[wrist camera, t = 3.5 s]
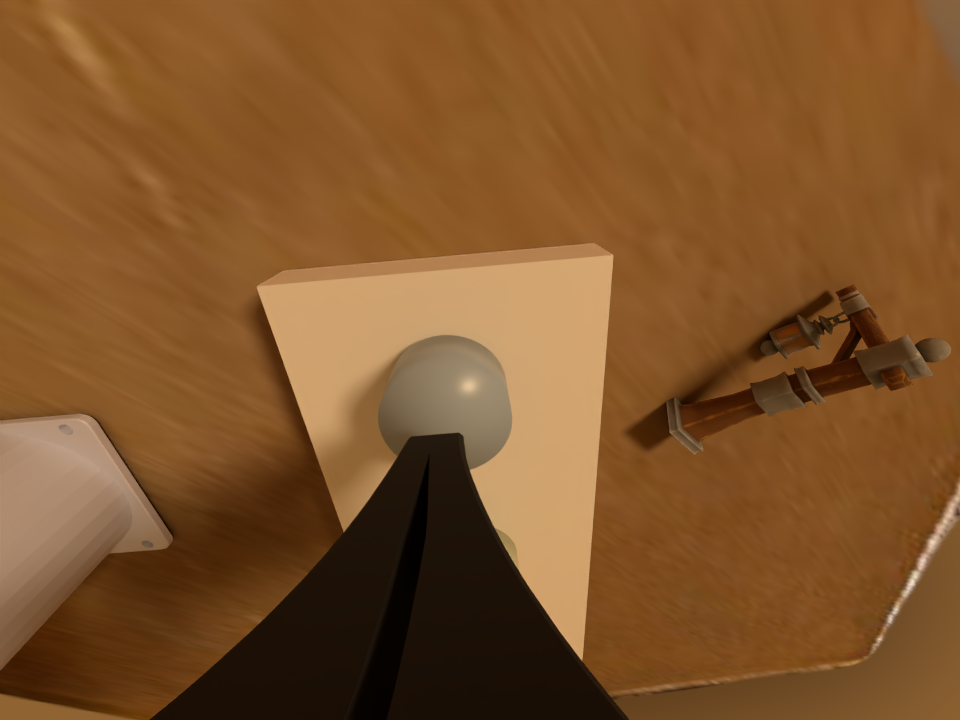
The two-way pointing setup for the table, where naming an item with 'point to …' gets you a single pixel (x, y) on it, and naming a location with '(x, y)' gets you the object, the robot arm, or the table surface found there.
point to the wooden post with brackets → (812, 372)
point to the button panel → (529, 376)
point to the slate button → (448, 397)
